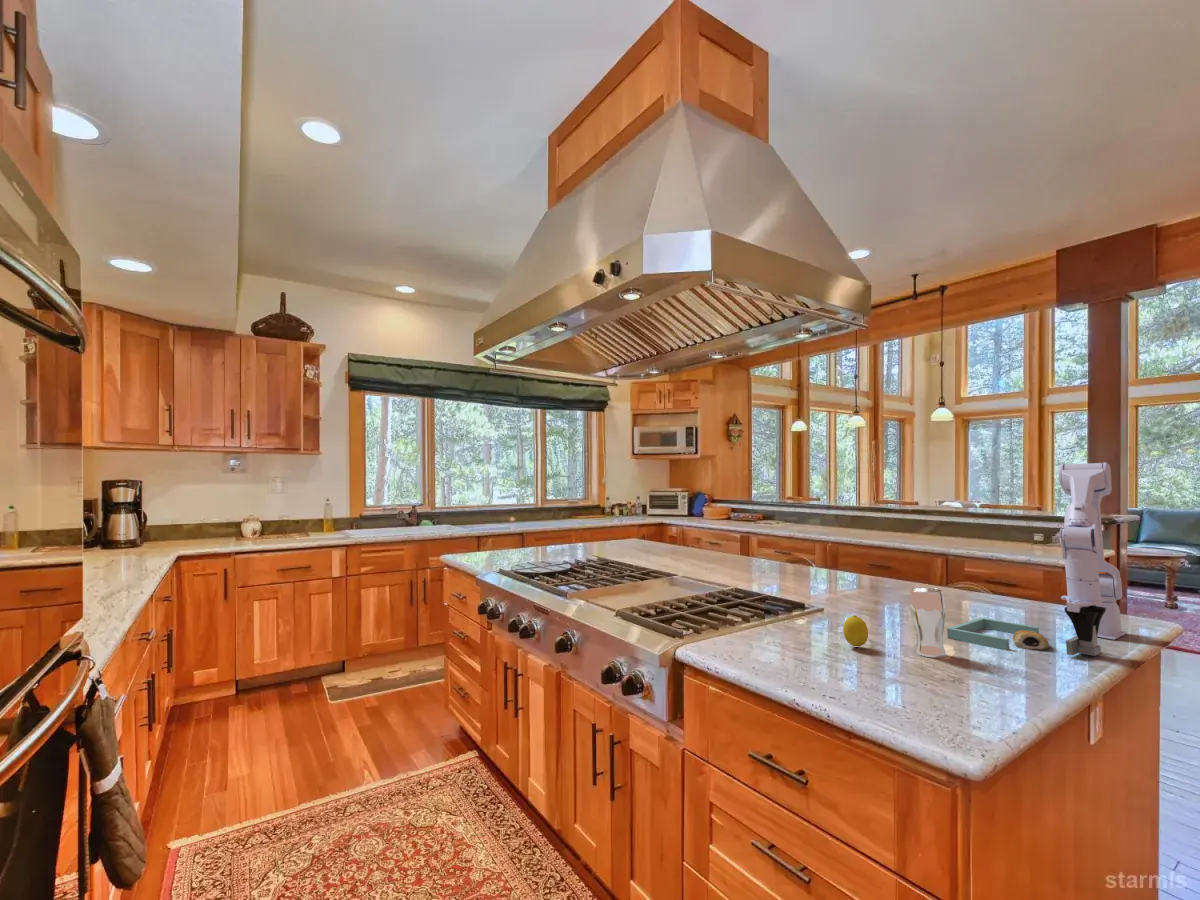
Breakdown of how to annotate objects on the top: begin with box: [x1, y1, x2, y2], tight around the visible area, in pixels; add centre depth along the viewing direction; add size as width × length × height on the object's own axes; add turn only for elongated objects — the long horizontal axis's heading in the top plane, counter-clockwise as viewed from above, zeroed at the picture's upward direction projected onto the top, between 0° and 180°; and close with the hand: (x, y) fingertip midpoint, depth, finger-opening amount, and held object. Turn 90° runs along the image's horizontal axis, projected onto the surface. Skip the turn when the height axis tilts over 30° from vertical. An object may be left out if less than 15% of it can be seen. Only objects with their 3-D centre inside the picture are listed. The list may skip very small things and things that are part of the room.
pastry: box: [1012, 630, 1050, 651], centre depth 134 cm, size 9×7×4 cm
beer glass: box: [910, 586, 947, 659], centre depth 129 cm, size 7×7×15 cm
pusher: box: [1065, 626, 1102, 657], centre depth 125 cm, size 10×4×6 cm, turn 122°
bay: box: [946, 617, 1040, 651], centre depth 140 cm, size 18×13×2 cm
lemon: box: [842, 614, 869, 647], centre depth 135 cm, size 6×6×8 cm
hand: (1087, 639), depth 125 cm, fingers closed on pusher, 2 cm apart
